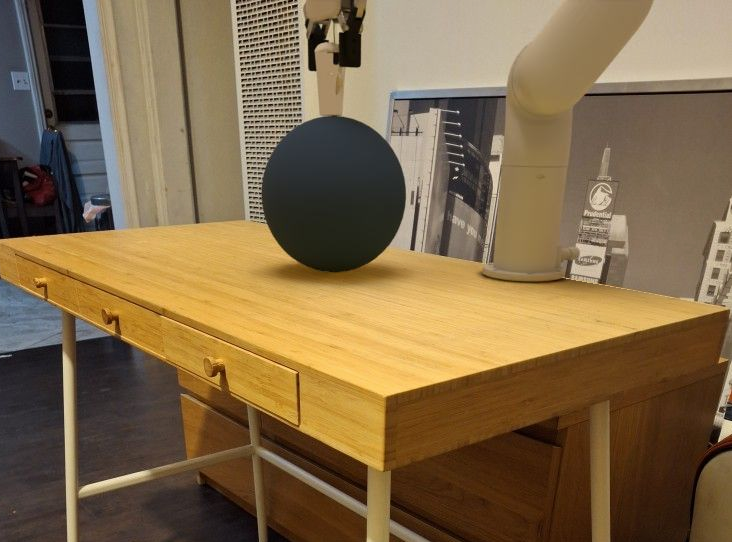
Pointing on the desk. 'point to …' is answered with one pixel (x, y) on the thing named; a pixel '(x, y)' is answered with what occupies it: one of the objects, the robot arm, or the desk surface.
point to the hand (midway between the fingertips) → (333, 69)
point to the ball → (333, 194)
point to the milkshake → (329, 79)
